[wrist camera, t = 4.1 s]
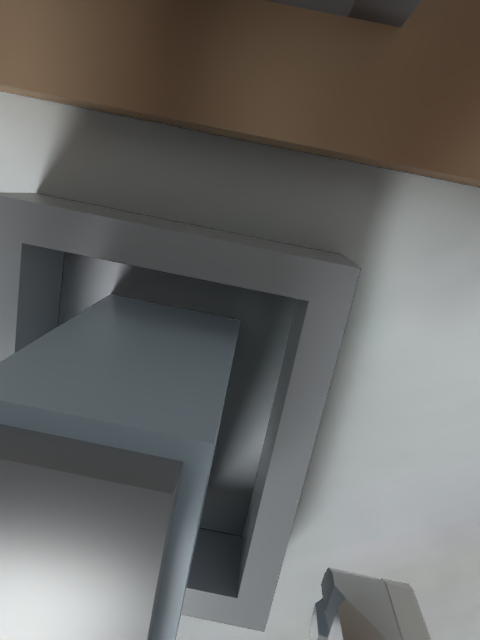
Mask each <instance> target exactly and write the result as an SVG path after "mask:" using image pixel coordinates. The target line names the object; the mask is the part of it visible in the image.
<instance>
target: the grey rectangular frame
mask: <svg viewBox="0 0 480 640" xmlns="http://www.w3.org/2000/svg"><path fill="white" fill-rule="evenodd" d="M64 252H69V253H73V254H78V255H83V256H88V257H93V258H98V259H103V260H108V261H113V262H118V263H123V264H128V265H133V266H138V267H143V268H147V269H152V270H157V271H162V272H167V273H172V274H177V275H182V276H187V277H192V278H197V279H202V280H207V281H212V282H217V283H221V284H226V285H231V286H236V287H241V288H246V289H251V290H256V291H261V292H266V293H271V294H276V295H281V296H286V297H291V298H295V299H298V300H297V304H296V308H295V313H294V317H293V321H292V325H291V330H290V334H289V338H288V343H287V347H286V351H285V355H284V360H283V364H282V368H281V373H280V377H279V381H278V385H277V390H276V394H275V398H274V403H273V407H272V411H271V415H270V420H269V424H268V428H267V433H266V437H265V441H264V445H263V450H262V454H261V458H260V463H259V467H258V471H257V475H256V480H255V484H254V488H253V493H252V497H251V501H250V505H249V510H248V514H247V518H246V523H245V527H244V531H243V535H242V537H240V536H235V535H230V534H225V533H220V532H216V531H211V530H206V529H201V528H199V530H198V535H197V540H196V545H195V549H194V554H193V559H192V564H191V569H190V573H189V578H188V583H187V588H186V592H185V597H184V602H183V607H182V612H181V615H185V616H190V617H195V618H200V619H205V620H210V621H214V622H219V623H224V624H229V625H234V626H238V627H243V628H248V629H253V630H258V631H263V632H264V631H265V627H266V623H267V620H268V616H269V612H270V608H271V605H272V601H273V597H274V593H275V590H276V586H277V582H278V578H279V575H280V571H281V567H282V563H283V560H284V556H285V552H286V548H287V545H288V541H289V537H290V533H291V530H292V526H293V522H294V518H295V515H296V511H297V507H298V503H299V500H300V496H301V492H302V488H303V485H304V481H305V477H306V473H307V470H308V466H309V462H310V458H311V454H312V451H313V447H314V443H315V439H316V436H317V432H318V428H319V424H320V421H321V417H322V413H323V409H324V406H325V402H326V398H327V394H328V391H329V387H330V383H331V379H332V376H333V372H334V368H335V364H336V361H337V357H338V353H339V349H340V346H341V342H342V338H343V334H344V331H345V327H346V323H347V319H348V316H349V312H350V308H351V304H352V300H353V297H354V293H355V289H356V285H357V282H358V278H359V274H360V270H361V268H360V267H358V266H357V265H356V264H354V263H353V262H352V261H350V260H349V259H348V258H347V257H345V256H344V255H339V254H334V253H329V252H324V251H319V250H314V249H309V248H304V247H299V246H294V245H289V244H285V243H280V242H275V241H270V240H265V239H260V238H255V237H250V236H245V235H240V234H235V233H230V232H225V231H220V230H215V229H210V228H205V227H200V226H195V225H190V224H186V223H181V222H176V221H171V220H166V219H161V218H156V217H151V216H146V215H141V214H136V213H131V212H126V211H121V210H116V209H111V208H106V207H101V206H96V205H91V204H86V203H82V202H77V201H72V200H67V199H62V198H57V197H52V196H47V195H42V194H37V193H1V192H0V362H1V361H3V360H4V359H6V358H8V357H9V356H11V355H12V354H14V353H16V352H17V351H19V350H21V349H22V348H24V347H25V346H27V345H29V344H30V343H32V342H34V341H35V340H37V339H39V338H40V337H42V336H43V335H45V334H47V333H48V332H50V331H52V330H53V329H55V328H56V327H58V317H59V306H60V295H61V284H62V273H63V262H64Z"/></svg>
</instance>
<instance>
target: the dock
mask: <svg viewBox="0 0 480 640" xmlns="http://www.w3.org/2000/svg"><path fill="white" fill-rule="evenodd" d="M0 91H2V92H7V93H12V94H17V95H22V96H27V97H32V98H37V99H42V100H47V101H52V102H57V103H62V104H67V105H72V106H77V107H82V108H87V109H92V110H97V111H102V112H107V113H112V114H117V115H122V116H127V117H132V118H137V119H142V120H147V121H152V122H157V123H162V124H167V125H172V126H177V127H182V128H187V129H192V130H197V131H202V132H207V133H212V134H217V135H222V136H227V137H232V138H237V139H242V140H247V141H252V142H257V143H262V144H267V145H272V146H277V147H282V148H287V149H292V150H296V151H301V152H306V153H311V154H316V155H321V156H326V157H331V158H336V159H341V160H346V161H351V162H356V163H361V164H366V165H371V166H376V167H381V168H386V169H391V170H396V171H401V172H406V173H411V174H416V175H421V176H426V177H431V178H436V179H441V180H446V181H451V182H456V183H461V184H466V185H471V186H476V187H480V0H0Z"/></svg>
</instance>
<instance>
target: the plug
mask: <svg viewBox="0 0 480 640" xmlns="http://www.w3.org/2000/svg"><path fill="white" fill-rule="evenodd" d="M240 323H241V320H236V319H231V318H226V317H221V316H216V315H211V314H206V313H202V312H197V311H192V310H187V309H182V308H177V307H172V306H167V305H162V304H157V303H152V302H147V301H142V300H137V299H132V298H127V297H123V296H118V295H113V294H110V295H109V296H107V297H105V298H104V299H102V300H100V301H99V302H97V303H96V304H94V305H92V306H91V307H89V308H87V309H86V310H84V311H83V312H81V313H79V314H78V315H76V316H74V317H73V318H71V319H69V320H68V321H66V322H65V323H63V324H61V325H60V326H58V327H56V328H55V329H53V330H52V331H50V332H48V333H47V334H45V335H43V336H42V337H40V338H39V339H37V340H35V341H34V342H32V343H30V344H29V345H27V346H25V347H24V348H22V349H21V350H19V351H17V352H16V353H14V354H12V355H11V356H9V357H8V358H6V359H4V360H3V361H1V362H0V640H176V635H177V631H178V626H179V621H180V616H181V612H182V607H183V602H184V597H185V592H186V588H187V583H188V578H189V573H190V569H191V564H192V559H193V554H194V549H195V545H196V540H197V535H198V530H199V526H200V521H201V516H202V511H203V506H204V502H205V497H206V492H207V487H208V482H209V477H210V472H211V467H212V462H213V458H214V453H215V448H216V443H217V438H218V433H219V428H220V423H221V418H222V413H223V408H224V403H225V398H226V393H227V388H228V383H229V378H230V373H231V368H232V363H233V358H234V353H235V348H236V343H237V338H238V333H239V328H240Z"/></svg>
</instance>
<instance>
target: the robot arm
mask: <svg viewBox="0 0 480 640" xmlns="http://www.w3.org/2000/svg"><path fill="white" fill-rule="evenodd" d="M321 586H322V595H323V598H322V599H321V600H320V601H318V602H317V603H315V607H314V611H313V614H312V618H311V625H310V633H309V640H431V638H430V635H429V632H428V629H427V627H426V624H425V621H424V618H423V616H422V613H421V610H420V607H419V605H418V602H417V599H416V596H415V594H414V591H413V589H412V587H411V586H410V585H409V584H406V583H402V582H397V581H392V580H387V579H379V578H374V577H370V576H365V575H360V574H356V573H351V572H346V571H342V570H337V569H332V568H328V569H327V571H326V572H325V574H324V578H323V581H322V584H321Z"/></svg>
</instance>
